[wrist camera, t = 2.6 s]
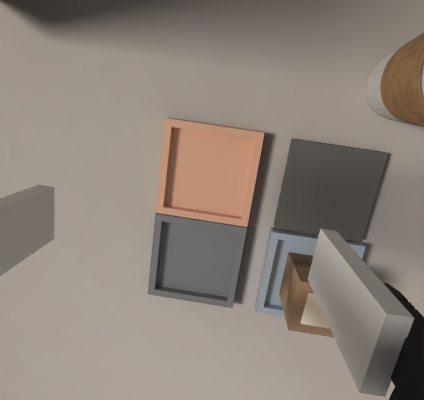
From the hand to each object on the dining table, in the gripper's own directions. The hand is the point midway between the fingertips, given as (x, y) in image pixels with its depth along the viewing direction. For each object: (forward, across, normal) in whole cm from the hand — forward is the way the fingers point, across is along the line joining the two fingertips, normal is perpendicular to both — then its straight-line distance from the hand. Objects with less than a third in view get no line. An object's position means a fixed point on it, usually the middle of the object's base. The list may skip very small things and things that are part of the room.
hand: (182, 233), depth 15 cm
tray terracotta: (+17, 0, 0) cm, 17 cm away
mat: (+17, +12, 0) cm, 21 cm away
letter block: (+16, +12, -10) cm, 22 cm away
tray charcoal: (+17, 0, -10) cm, 19 cm away
